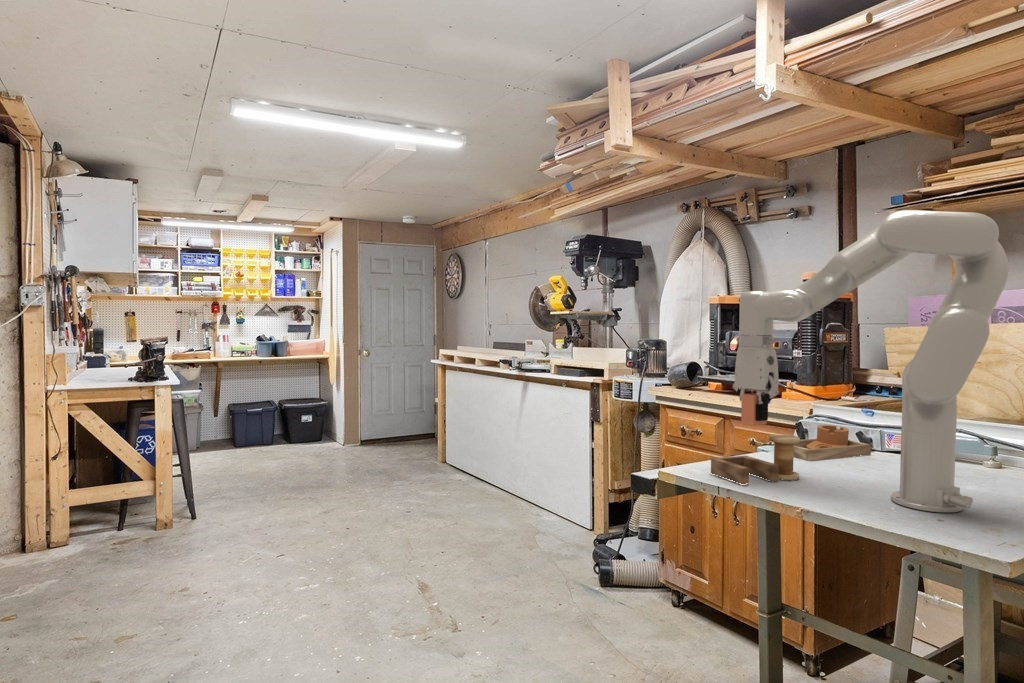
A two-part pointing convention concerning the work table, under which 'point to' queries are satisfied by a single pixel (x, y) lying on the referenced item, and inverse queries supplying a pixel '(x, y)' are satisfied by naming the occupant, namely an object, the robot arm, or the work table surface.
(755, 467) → the notched board
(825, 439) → the bracket
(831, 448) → the frame
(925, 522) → the work table surface
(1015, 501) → the work table surface
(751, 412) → the tab
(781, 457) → the spool
